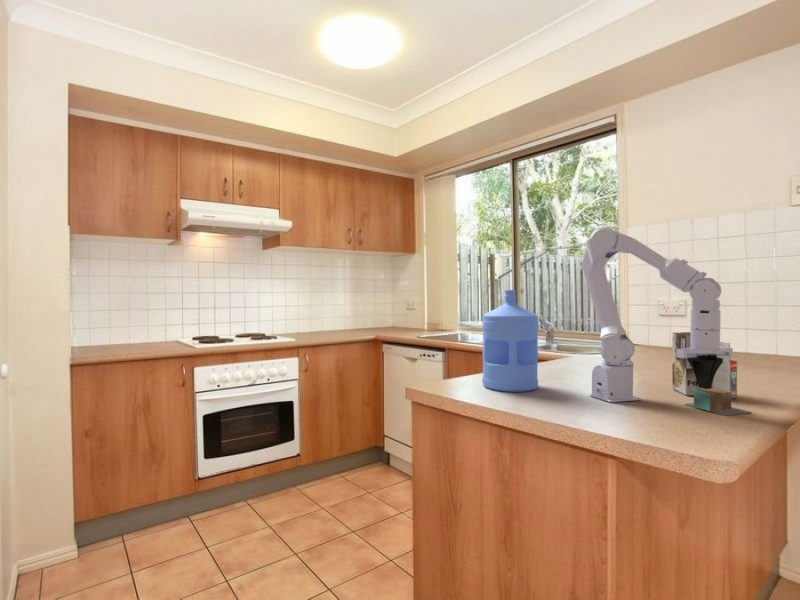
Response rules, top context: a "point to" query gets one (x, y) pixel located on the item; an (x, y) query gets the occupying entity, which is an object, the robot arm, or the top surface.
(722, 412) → the rubber mat
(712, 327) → the robot arm
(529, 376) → the water jug
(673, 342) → the coffee box
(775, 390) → the top surface
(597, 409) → the top surface
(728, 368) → the ink box
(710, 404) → the walnut block
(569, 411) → the top surface
